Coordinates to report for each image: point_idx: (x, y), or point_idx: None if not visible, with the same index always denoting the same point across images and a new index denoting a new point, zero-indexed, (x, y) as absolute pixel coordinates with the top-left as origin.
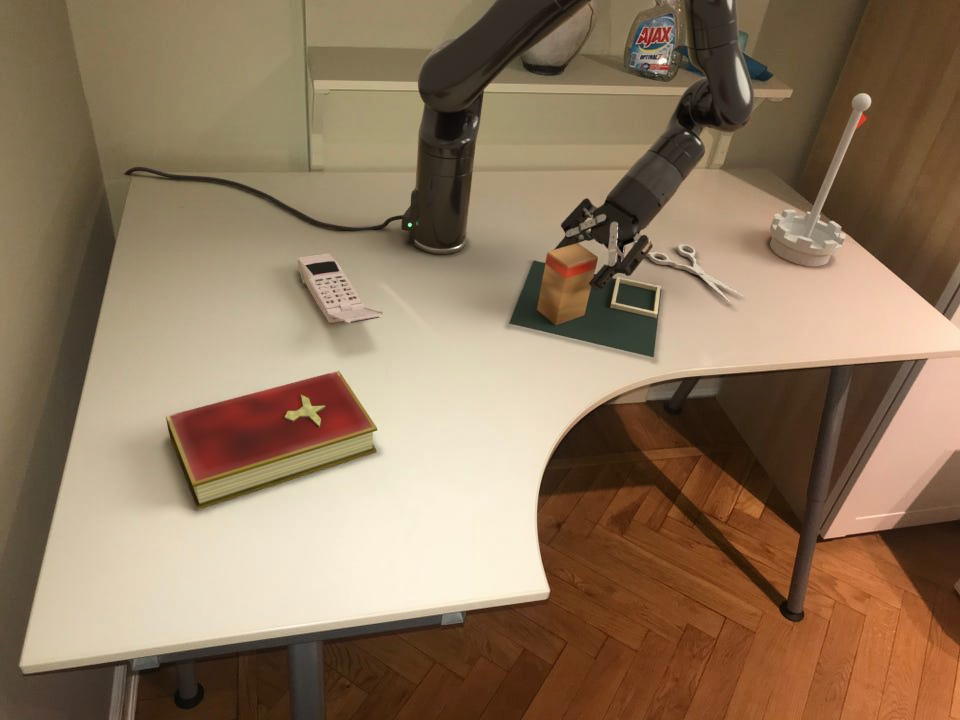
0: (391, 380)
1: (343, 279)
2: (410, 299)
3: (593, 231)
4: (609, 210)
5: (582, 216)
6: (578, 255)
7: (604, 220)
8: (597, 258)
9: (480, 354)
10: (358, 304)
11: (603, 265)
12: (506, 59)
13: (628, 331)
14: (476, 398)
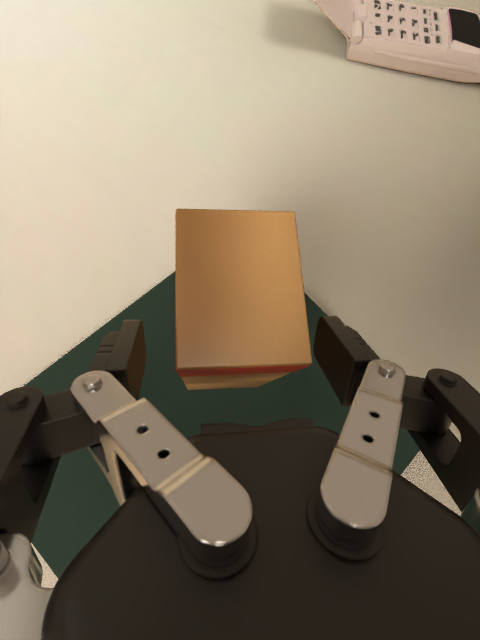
0: (196, 22)
1: (430, 42)
2: (371, 137)
3: (317, 432)
4: (414, 623)
5: (478, 481)
6: (224, 296)
7: (319, 491)
8: (177, 368)
9: (187, 142)
10: (359, 29)
11: (128, 364)
12: None
13: (74, 453)
14: (96, 79)
